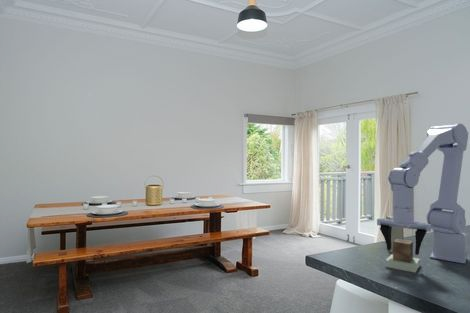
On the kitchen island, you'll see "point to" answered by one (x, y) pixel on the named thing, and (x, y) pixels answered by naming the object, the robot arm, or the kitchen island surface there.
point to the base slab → (403, 264)
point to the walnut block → (403, 250)
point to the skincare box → (395, 233)
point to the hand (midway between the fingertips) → (402, 251)
